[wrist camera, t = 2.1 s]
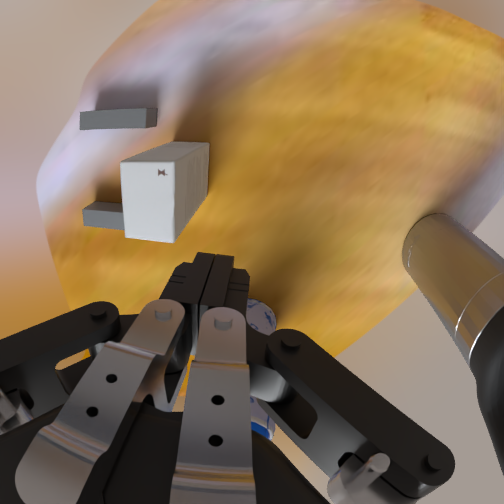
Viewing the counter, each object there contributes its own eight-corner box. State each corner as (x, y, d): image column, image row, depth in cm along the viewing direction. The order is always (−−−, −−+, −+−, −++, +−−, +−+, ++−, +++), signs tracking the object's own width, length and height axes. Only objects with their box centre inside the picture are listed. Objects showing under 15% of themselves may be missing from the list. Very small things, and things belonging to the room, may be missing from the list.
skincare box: (171, 140, 29) (118, 158, 18) (210, 142, 29) (176, 159, 18) (170, 195, 32) (123, 239, 21) (207, 198, 32) (176, 244, 21)
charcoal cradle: (157, 108, 27) (146, 108, 25) (154, 222, 33) (144, 232, 30) (94, 110, 27) (80, 112, 25) (96, 216, 33) (83, 225, 30)
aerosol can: (285, 308, 37) (292, 453, 19) (264, 349, 41) (259, 480, 23) (225, 290, 37) (193, 434, 19) (210, 334, 40) (180, 465, 22)
